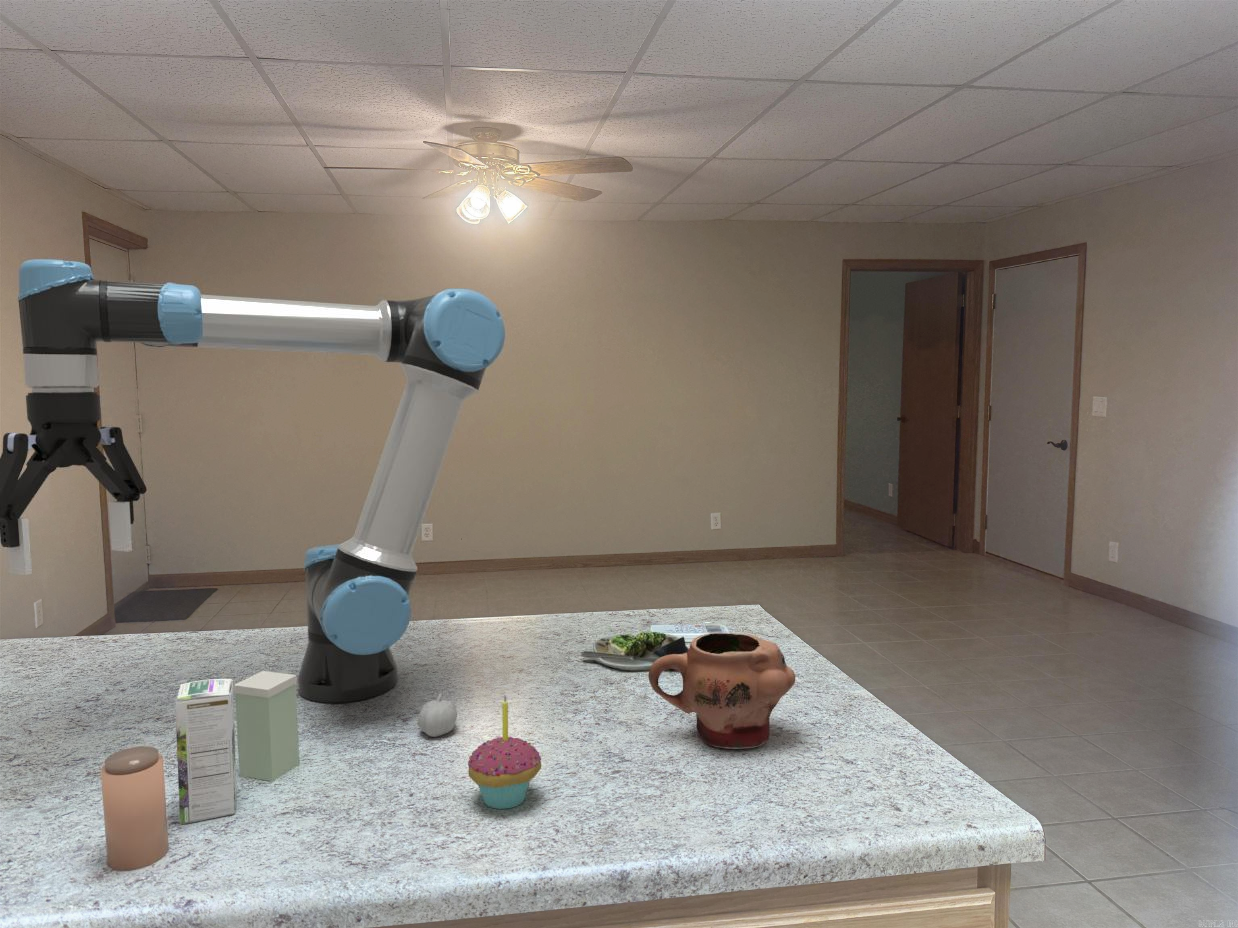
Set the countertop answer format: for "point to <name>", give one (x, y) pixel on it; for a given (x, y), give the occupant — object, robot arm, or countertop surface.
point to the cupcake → (504, 768)
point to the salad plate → (635, 650)
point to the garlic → (437, 717)
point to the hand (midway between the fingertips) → (74, 561)
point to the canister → (134, 808)
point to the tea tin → (267, 725)
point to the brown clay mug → (728, 686)
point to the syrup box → (206, 750)
